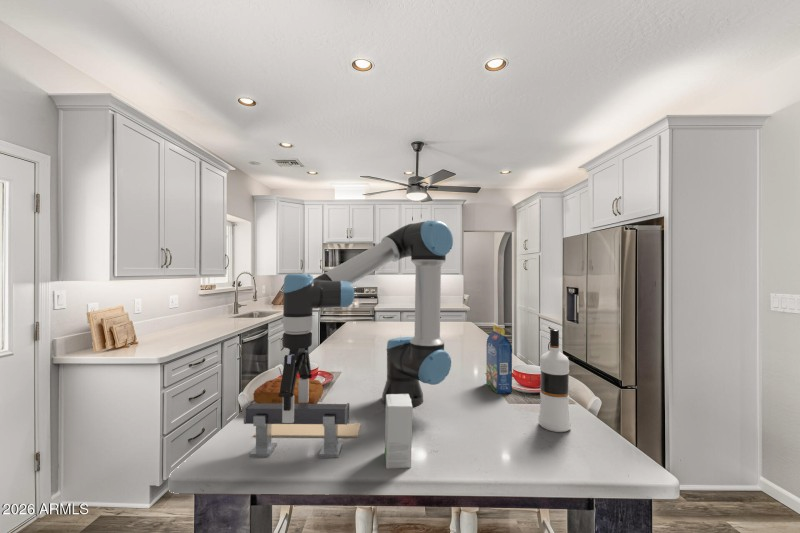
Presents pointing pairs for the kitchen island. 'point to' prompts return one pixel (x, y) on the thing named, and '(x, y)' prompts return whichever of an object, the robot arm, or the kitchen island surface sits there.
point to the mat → (311, 430)
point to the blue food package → (499, 361)
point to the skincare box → (398, 431)
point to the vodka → (554, 388)
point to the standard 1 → (262, 438)
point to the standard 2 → (330, 438)
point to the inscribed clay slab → (271, 390)
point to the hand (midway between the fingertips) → (296, 411)
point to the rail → (298, 413)
